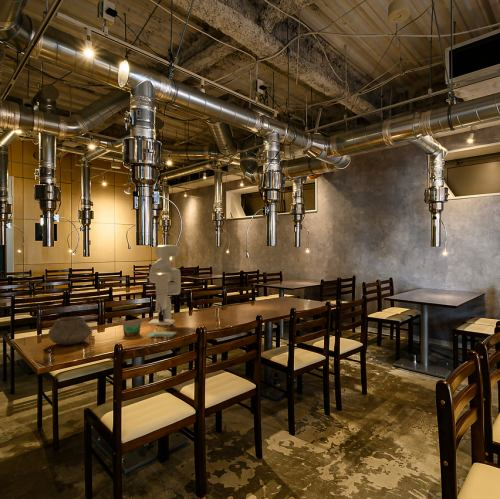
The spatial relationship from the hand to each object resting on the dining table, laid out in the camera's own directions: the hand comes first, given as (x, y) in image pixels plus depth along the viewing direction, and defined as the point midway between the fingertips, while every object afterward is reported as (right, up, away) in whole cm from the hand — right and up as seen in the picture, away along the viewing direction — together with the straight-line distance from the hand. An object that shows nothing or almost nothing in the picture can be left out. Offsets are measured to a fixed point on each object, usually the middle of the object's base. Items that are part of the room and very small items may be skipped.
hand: (161, 319), depth 216 cm
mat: (0, -10, -1) cm, 10 cm away
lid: (0, -2, 0) cm, 2 cm away
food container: (-18, -10, -5) cm, 21 cm away
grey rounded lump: (-49, -10, -21) cm, 54 cm away
